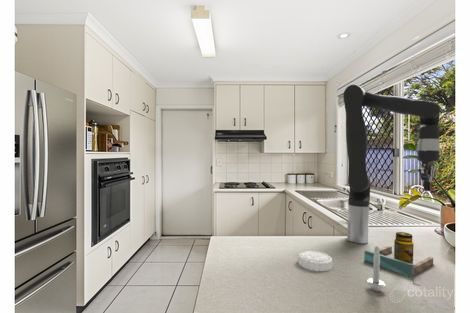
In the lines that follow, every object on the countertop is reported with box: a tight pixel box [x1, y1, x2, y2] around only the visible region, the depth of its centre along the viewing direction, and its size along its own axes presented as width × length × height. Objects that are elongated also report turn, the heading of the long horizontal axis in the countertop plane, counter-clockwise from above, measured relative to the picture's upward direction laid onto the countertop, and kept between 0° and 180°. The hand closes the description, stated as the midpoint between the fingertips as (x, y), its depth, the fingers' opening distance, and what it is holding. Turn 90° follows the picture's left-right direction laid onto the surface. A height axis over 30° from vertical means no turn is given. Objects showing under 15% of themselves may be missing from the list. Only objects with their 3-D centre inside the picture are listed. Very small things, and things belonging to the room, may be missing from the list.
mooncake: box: [297, 250, 333, 272], centre depth 97 cm, size 12×12×4 cm
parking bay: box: [363, 245, 434, 278], centre depth 101 cm, size 20×16×4 cm
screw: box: [366, 246, 386, 292], centre depth 79 cm, size 13×5×5 cm
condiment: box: [393, 231, 414, 265], centre depth 99 cm, size 7×8×12 cm
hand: (427, 190), depth 112 cm, fingers closed
